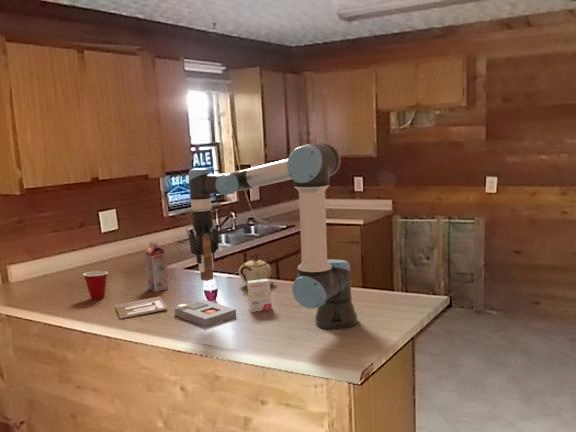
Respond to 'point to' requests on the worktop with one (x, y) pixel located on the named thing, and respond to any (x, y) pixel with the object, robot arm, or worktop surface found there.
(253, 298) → the ink box
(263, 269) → the sugar bowl
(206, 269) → the walnut rod
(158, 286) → the juice carton
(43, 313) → the worktop surface
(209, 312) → the orange ball button
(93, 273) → the plastic cup
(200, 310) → the grey flat block
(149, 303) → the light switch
